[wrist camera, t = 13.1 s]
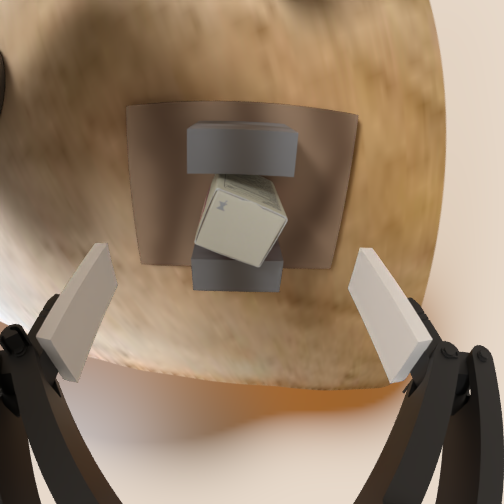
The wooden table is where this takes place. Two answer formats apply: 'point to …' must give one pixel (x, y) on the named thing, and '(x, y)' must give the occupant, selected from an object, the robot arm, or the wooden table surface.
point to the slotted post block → (237, 162)
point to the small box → (241, 217)
